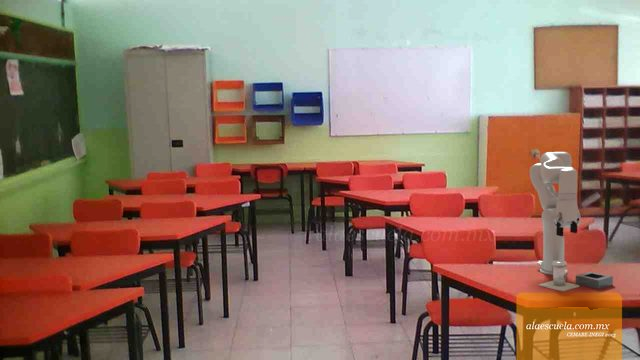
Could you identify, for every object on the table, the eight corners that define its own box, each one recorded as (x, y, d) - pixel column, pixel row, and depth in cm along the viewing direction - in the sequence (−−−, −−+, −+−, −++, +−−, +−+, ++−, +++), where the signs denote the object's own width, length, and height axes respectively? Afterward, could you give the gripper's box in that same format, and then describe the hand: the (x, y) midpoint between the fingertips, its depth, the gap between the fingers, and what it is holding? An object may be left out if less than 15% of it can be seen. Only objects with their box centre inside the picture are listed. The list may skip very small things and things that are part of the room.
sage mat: (539, 285, 268) (539, 284, 268) (555, 281, 275) (555, 279, 275) (562, 291, 258) (562, 290, 258) (579, 286, 265) (579, 285, 265)
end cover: (549, 284, 267) (549, 261, 266) (557, 282, 271) (557, 259, 270) (561, 287, 262) (561, 264, 262) (569, 285, 266) (569, 262, 265)
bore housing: (575, 284, 269) (575, 275, 269) (589, 280, 275) (590, 271, 275) (598, 289, 260) (598, 280, 260) (612, 285, 266) (612, 276, 266)
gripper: (572, 193, 273) (571, 230, 275) (547, 197, 264) (547, 235, 267) (587, 195, 267) (586, 233, 269) (562, 199, 258) (561, 238, 260)
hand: (566, 234), depth 268 cm, fingers open, 9 cm apart
